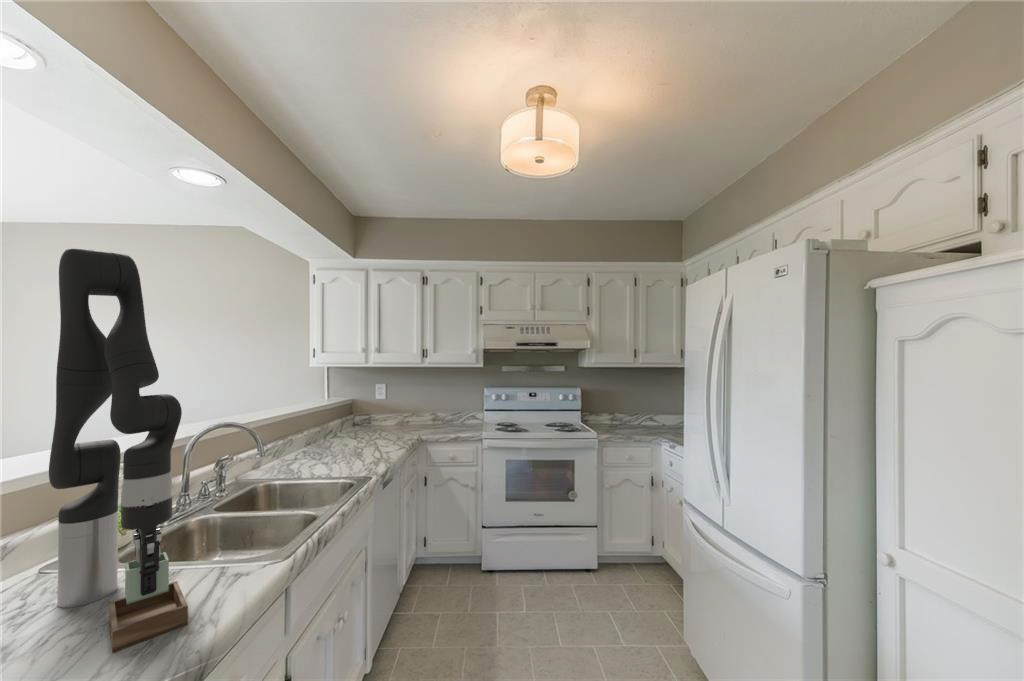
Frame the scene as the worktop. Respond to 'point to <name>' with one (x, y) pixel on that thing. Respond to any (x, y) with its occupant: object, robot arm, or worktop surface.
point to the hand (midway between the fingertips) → (147, 587)
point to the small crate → (135, 579)
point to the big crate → (146, 617)
